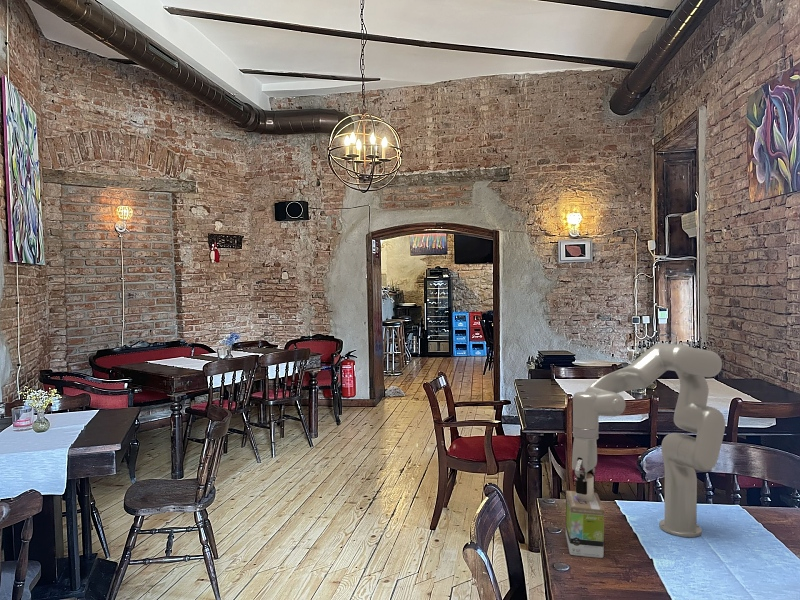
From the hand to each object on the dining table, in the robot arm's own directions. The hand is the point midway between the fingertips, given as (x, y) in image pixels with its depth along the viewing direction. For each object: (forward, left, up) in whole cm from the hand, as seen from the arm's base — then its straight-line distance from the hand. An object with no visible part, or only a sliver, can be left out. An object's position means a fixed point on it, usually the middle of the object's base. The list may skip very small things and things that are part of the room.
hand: (585, 489), depth 173 cm
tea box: (0, 0, -18) cm, 18 cm away
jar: (0, 0, -3) cm, 3 cm away
